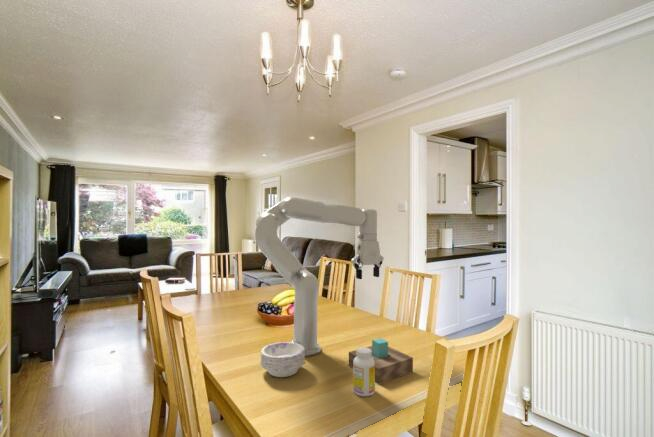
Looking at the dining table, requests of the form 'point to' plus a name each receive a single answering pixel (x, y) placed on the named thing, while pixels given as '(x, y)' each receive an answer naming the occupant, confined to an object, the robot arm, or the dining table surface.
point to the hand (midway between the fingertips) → (367, 277)
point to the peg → (380, 348)
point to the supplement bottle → (364, 372)
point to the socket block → (388, 365)
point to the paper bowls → (282, 358)
